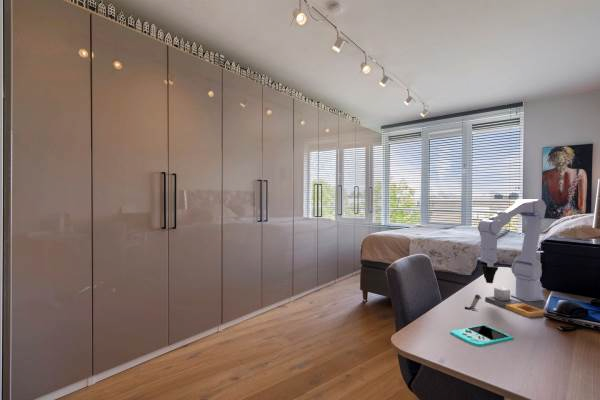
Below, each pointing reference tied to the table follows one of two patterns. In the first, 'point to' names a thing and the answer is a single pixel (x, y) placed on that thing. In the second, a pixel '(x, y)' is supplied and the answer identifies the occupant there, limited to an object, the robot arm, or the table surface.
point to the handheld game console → (481, 335)
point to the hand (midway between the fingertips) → (488, 280)
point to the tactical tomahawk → (473, 303)
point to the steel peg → (502, 294)
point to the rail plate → (517, 307)
